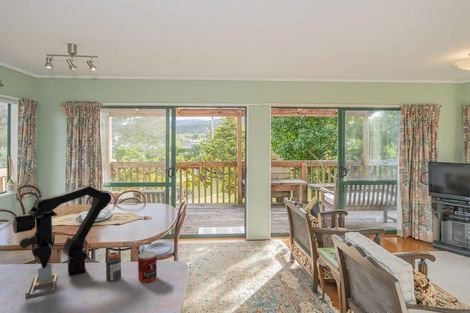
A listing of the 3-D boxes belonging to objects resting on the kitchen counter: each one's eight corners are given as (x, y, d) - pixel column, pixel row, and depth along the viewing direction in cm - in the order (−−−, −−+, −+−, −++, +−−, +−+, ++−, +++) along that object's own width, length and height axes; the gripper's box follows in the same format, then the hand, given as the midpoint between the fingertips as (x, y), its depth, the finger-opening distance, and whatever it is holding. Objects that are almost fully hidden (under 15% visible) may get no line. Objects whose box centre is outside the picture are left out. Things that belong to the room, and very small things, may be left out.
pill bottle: (106, 277, 127) (105, 252, 127) (120, 275, 130) (120, 250, 129) (106, 283, 122) (105, 257, 121) (121, 280, 124) (120, 254, 124)
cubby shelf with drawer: (56, 276, 129) (56, 272, 129) (53, 292, 114) (53, 287, 114) (31, 280, 124) (31, 276, 124) (25, 298, 110) (25, 293, 110)
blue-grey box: (52, 278, 126) (51, 261, 126) (51, 282, 123) (50, 265, 122) (39, 280, 124) (39, 263, 124) (38, 285, 120) (37, 267, 120)
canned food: (142, 285, 120) (142, 259, 120) (135, 278, 126) (134, 253, 126) (159, 279, 125) (159, 254, 125) (151, 273, 131) (151, 249, 131)
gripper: (24, 224, 127) (25, 259, 128) (16, 236, 111) (17, 276, 111) (54, 221, 132) (55, 255, 133) (50, 232, 116) (51, 270, 116)
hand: (45, 263), depth 123 cm, fingers open, 9 cm apart
